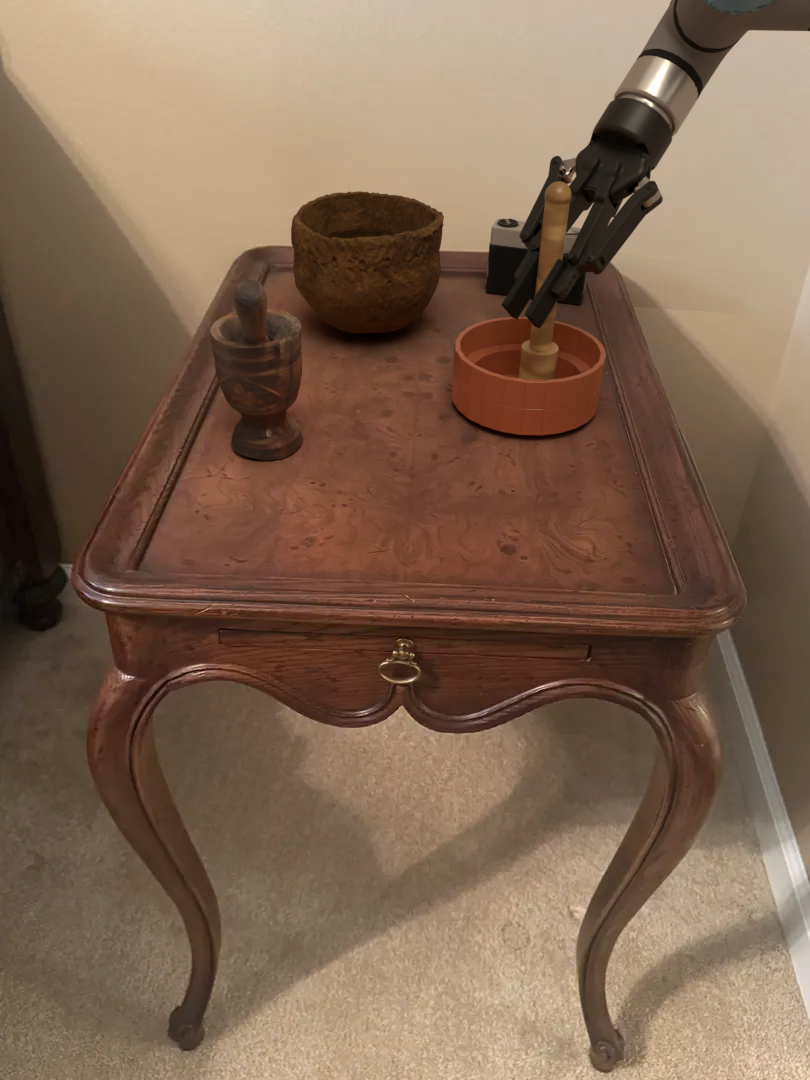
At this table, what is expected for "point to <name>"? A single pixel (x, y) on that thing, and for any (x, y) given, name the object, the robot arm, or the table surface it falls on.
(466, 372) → the mixing bowl
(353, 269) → the bowl
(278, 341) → the mortar and pestle
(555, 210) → the muddler
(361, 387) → the table surface
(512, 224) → the camera
